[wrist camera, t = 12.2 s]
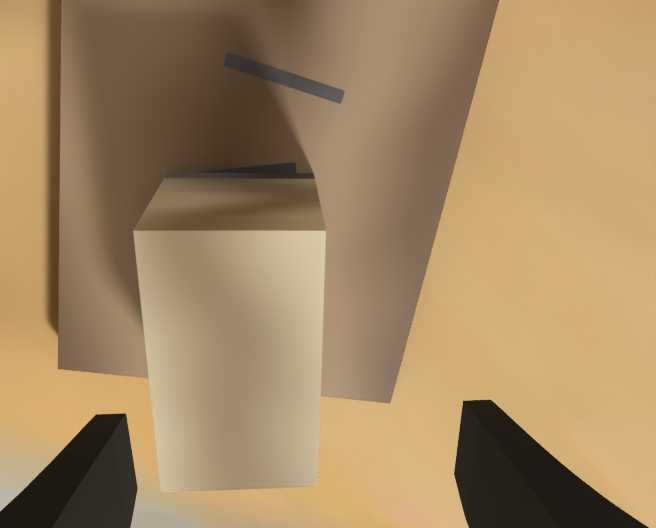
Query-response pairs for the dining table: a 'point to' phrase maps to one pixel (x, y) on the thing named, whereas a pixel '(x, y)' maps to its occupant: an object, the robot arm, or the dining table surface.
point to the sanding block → (234, 328)
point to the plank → (264, 151)
